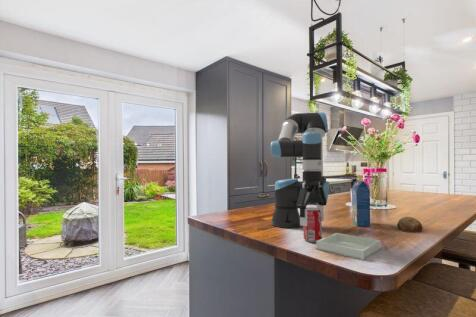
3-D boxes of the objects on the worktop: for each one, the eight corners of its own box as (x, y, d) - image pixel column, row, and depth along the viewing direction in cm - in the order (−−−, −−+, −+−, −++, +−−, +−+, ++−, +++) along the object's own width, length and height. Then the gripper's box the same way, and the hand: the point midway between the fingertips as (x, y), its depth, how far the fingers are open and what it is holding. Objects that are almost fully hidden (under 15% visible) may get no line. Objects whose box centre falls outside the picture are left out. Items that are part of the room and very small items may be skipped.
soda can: (322, 243, 108) (322, 210, 108) (303, 242, 110) (303, 209, 110) (320, 238, 115) (320, 207, 115) (303, 237, 117) (302, 206, 117)
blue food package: (356, 226, 137) (356, 175, 137) (351, 221, 149) (351, 174, 149) (370, 227, 135) (369, 176, 136) (364, 222, 147) (364, 174, 148)
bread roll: (396, 235, 134) (389, 220, 134) (414, 225, 135) (407, 211, 135) (410, 241, 124) (403, 225, 124) (430, 230, 125) (422, 214, 125)
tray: (316, 249, 101) (316, 241, 101) (336, 240, 113) (336, 232, 113) (363, 260, 90) (363, 251, 90) (380, 248, 101) (380, 240, 102)
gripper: (304, 170, 101) (304, 229, 101) (334, 170, 119) (334, 220, 118) (286, 170, 106) (287, 226, 106) (318, 170, 124) (318, 218, 124)
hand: (312, 223), depth 112 cm, fingers open, 13 cm apart
